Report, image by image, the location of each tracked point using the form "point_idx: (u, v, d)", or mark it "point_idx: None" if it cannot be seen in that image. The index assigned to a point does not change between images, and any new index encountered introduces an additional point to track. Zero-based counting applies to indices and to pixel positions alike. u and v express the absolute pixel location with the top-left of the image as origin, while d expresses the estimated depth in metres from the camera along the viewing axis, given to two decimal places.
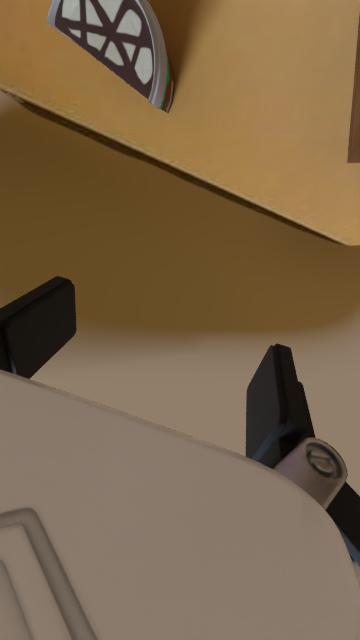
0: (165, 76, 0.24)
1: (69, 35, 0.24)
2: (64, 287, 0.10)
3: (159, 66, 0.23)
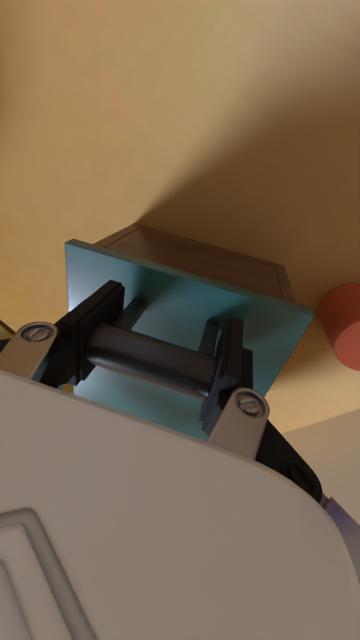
0: None
1: None
2: (118, 290, 0.11)
3: None
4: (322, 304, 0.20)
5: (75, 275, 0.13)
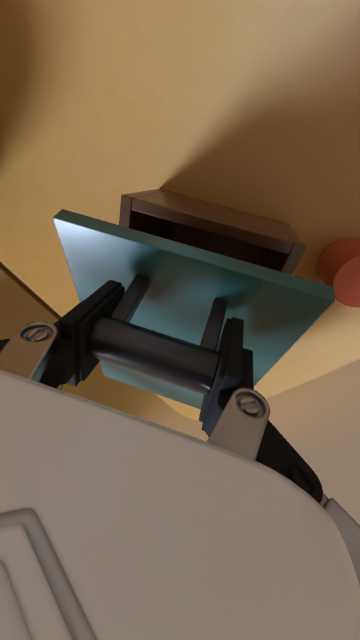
0: None
1: None
2: (118, 290, 0.11)
3: None
4: (321, 257, 0.23)
5: (72, 251, 0.12)
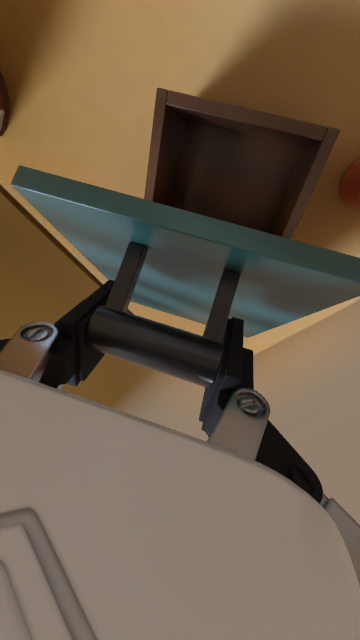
0: None
1: None
2: None
3: None
4: (345, 175, 0.23)
5: (50, 215, 0.10)
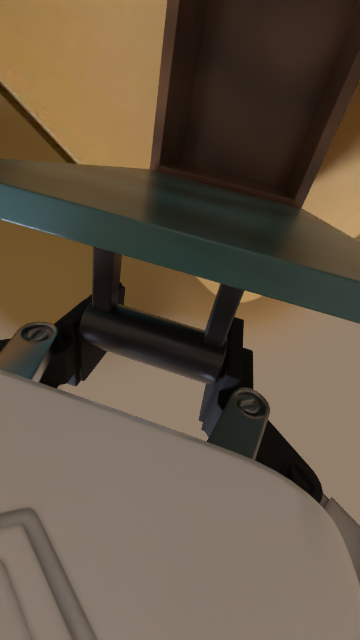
0: None
1: None
2: None
3: None
4: None
5: None
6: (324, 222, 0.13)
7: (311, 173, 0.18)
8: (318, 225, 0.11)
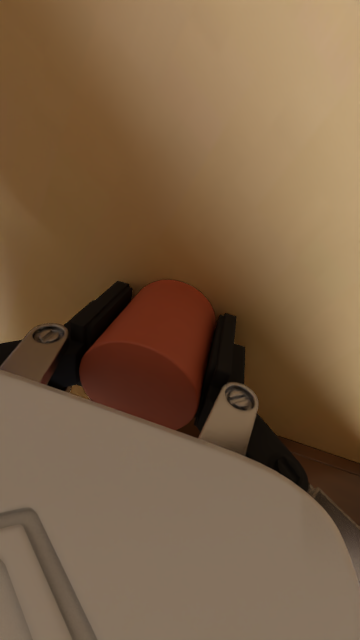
0: None
1: None
2: (126, 291, 0.11)
3: None
4: None
5: None
6: None
7: None
8: None
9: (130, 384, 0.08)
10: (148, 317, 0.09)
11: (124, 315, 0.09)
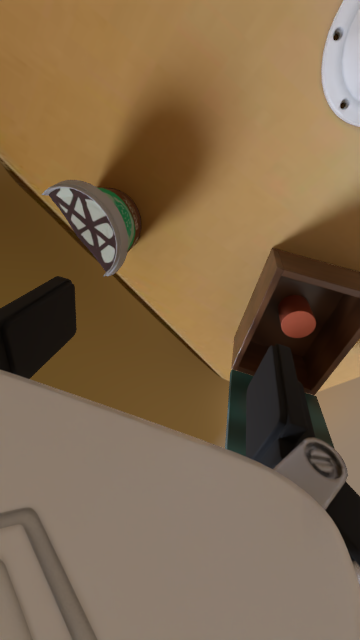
0: (122, 262, 0.33)
1: (58, 206, 0.30)
2: (64, 287, 0.10)
3: (118, 261, 0.31)
4: None
5: None
6: (329, 437, 0.30)
7: (321, 382, 0.35)
8: None
9: (297, 322, 0.34)
10: (301, 306, 0.34)
11: (292, 305, 0.35)
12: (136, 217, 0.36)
